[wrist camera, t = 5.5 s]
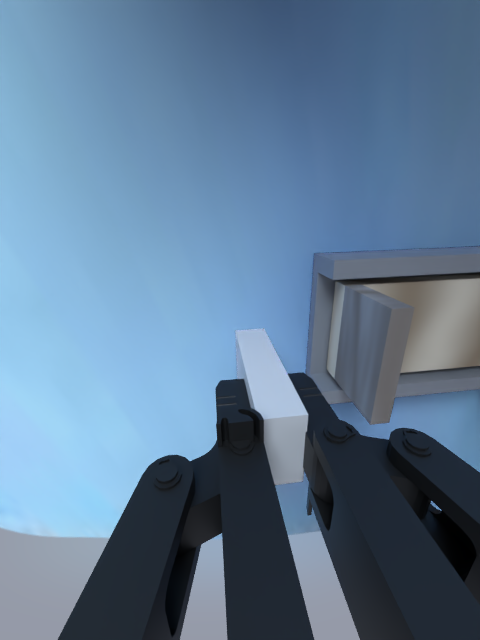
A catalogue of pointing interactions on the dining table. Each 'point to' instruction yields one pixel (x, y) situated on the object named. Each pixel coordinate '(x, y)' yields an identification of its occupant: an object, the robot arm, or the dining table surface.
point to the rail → (379, 267)
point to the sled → (400, 334)
